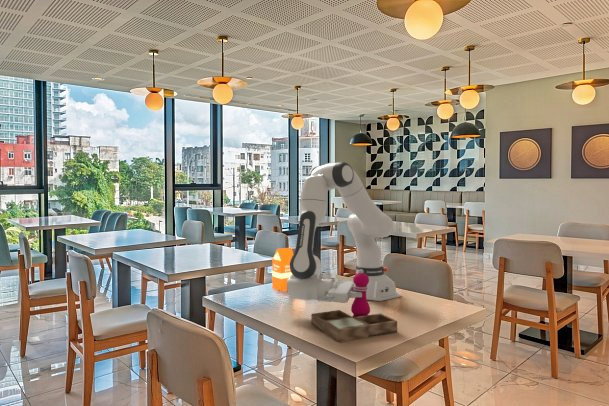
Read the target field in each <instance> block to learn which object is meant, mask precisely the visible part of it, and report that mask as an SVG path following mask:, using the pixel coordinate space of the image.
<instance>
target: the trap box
mask: <svg viewBox="0 0 609 406" xmlns="http://www.w3.org/2000/svg"><path fill="white" fill-rule="evenodd" d="M310 316H311V320H310V321H311V326H313V327H315V329H317V330H319V331H320V332H321V333H324V334H325V335H327V337H330V338H331V339H333V340H334V341H336V342H337V343H343V342H349V341H353V340H359V339H360V340H361V339H366V338H372V337H377V336H383V335H390V334H394V333H398V321H397V320H396V319H393V318H391V317H389V316H387V315H385V314H383V313H372V314H368V315H366V316H359V317H352V316H353V315H352V316H351V315H350V314H348V313H345V312H344V311H342V310H340V309H337V310H336V309H335V310H329V311H324V312H323V311H322V312H316V313H315V312H314V313H311V315H310Z"/></svg>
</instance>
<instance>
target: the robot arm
mask: <svg viewBox="0 0 609 406" xmlns="http://www.w3.org/2000/svg"><path fill="white" fill-rule="evenodd" d="M334 189H337V190H338V191H337V192H338V193H339V195H340V196H341V199H342V200H343V202H344V204H345V206H346V208H347V210H348V211H349V212H350V213H351V214H349V216H348V217H347V221H346V226H347V228H348V231H349V232H350V233H351V235H352V237H353V239H354V243H355V247H356V266H355V275H356V274H358V273H359V270H360V269H362V270H363V271H364V272H363V273H364V274H366V275H367V276H368V277H369V283H368V284H367V286H368V287H367V289H368V290H366V298H367V301H376V302H382V301H386V300H387V301H388V300H391V299H396V298H401V297H402V293H400V292H399V291H397V287H396V283H395V281H393V280H392V279H391V278H390V277H389V276H387V274H385V273H387V272H389V267H386V266H382V250H381V247H380V246H379V245H378V244H377V242H376V239H378V238H379V239H381V238H387V237H389V236H390V235H391V234H392V232H393V231H394V228H395V227H394V220H393V219H392V218H391V216H389V215H388V214H386V213H384V211H382V210H381V209H380V208H379V206H377V204H376V203H375V202H374V201H373V200H372V198H371V197H370V195H369V193H368V191H367V189H366V187H365V185H364V184H363V182H362V179H361V178H360V177H359V175H358V173H356V171H355V170H354V169H353V168H352V166H351V165H350V164H349V163H348V162H345V161H337V162H328V163H325V164H323V165H319V166H315V167H312V168H311V169H309V171H308V172H307V175H306V178H305V179H304V180H303V184H302V188H301V193H300V202H299V223H298V229H297V230H298V231H297V237H296V244H295V250H294V252H293V256H292V258H291V260H290V271H291V273H292V275H291V276H290V278H288V280H287V290H286V291H287V293H288V295H289V296H290V297H291V298H292V299H294V300H295V299H296V300H301V301H302V300H303V301H314V300H315V301H318V302H326V303H343V304H345V303H348V302H349V299H355V298H356V297H362V292H356V291H355V289H354V288H355V287H354V286H355V284H354V282H353V281H351V280H346V279H336V277H329V278H324V277H322V278H319V277H320V273H321V271H322V265H323V264H322V261H321V260H320V258H319V257H318V256H316V255H315V254H314V252H313V250H314V249H313V248H314V241H315V240H314V239H315V234H316V233H315V232H316V229H317V227H318V225H319V224H321V223H322V222H323V221H324V220H325V217H326V214H327V210H328V209H327V208H328V192H329V191H330V190H331V191H332V190H334Z"/></svg>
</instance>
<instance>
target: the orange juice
mask: <svg viewBox="0 0 609 406" xmlns="http://www.w3.org/2000/svg"><path fill="white" fill-rule="evenodd" d="M293 254H294V252H293V249H292V247H284V248H277V249H276V251H275V254H274V255H273V258H272V265H271V266H272V273H271V274H272V276H271V277H272V279H271V280H272V281H271V282H272V283H271V285H272V289H274V290H276V289H277V291H279V290H280V291H279V292H283V290H284V291H287V280H288V278H290V276H291V275H292V273H291V271H290V260H291V258H292V256H293Z"/></svg>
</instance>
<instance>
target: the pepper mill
mask: <svg viewBox="0 0 609 406" xmlns="http://www.w3.org/2000/svg"><path fill="white" fill-rule="evenodd" d="M363 272H364V271H363V270H362V269H360V270H359V273H358V274H356V273H355V275H354V276H353V279H352V280H353V281H352V282H354V284H355V286H354V287H355V288H354V289H355V291H356V292H362V297H356V298H353V299H354V300H353V302H352V304H351V308H350V311H351V313H352V314H353V315H352V317H359V316H366V315H370V312H371V307H370V303H369V300H367V298H366V290H368V289H367V287H368V286H367V284H368V283H369V277H368V276H367V275H366V274H364V273H363Z"/></svg>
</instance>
